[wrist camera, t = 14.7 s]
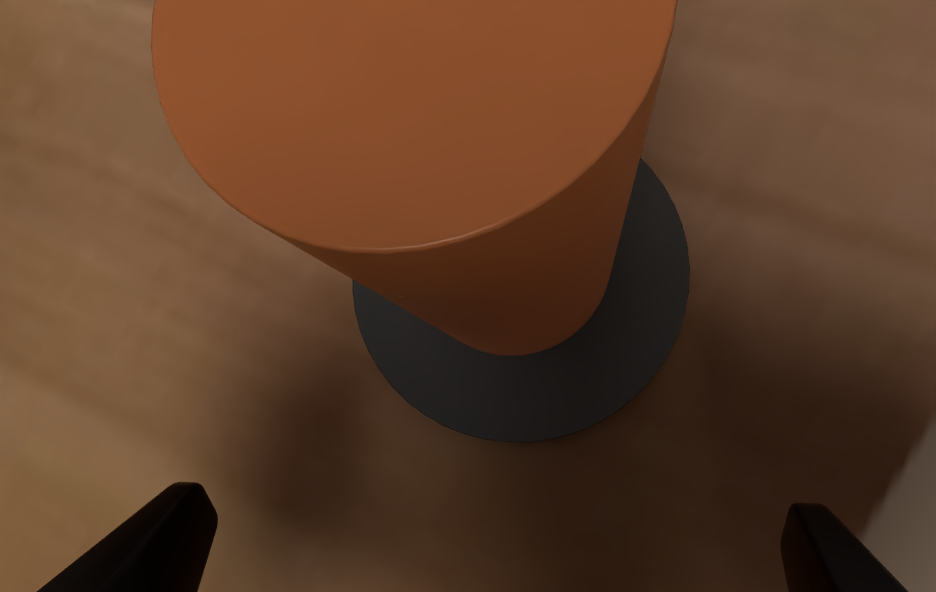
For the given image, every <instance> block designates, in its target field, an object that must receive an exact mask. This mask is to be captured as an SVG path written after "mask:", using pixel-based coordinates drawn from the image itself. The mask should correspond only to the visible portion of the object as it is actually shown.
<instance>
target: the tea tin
mask: <svg viewBox="0 0 936 592" xmlns="http://www.w3.org/2000/svg"><path fill="white" fill-rule="evenodd" d="M677 1H678V0H155V3H154V9H153V15H152V36H151V49H152V61H153V72H154V78H155V82H156V87H157V91H158V95H159V100H160V104H161V106H162V109H163V111H164V114H165V117H166V119H167V122H168V124H169V127H170V129H171V132H172V134H173V136H174V138H175V139H176V141H177V143H178V145H179V146H180V148H181V150H182V152H183V153H184V155H185V157H186V159H187V160H188V161H189V163H190V164H191V165H192V166H193V168H194V169H195V170H196V171H197V173H198V174H199V175H200V177H201V178H202V179H203V180H204V182H205V183H206V184H207V185H208V186H209V187H210V188H211V189H212V190H214V191H215V192H216V193H217V194H218V195H219V196H220V197H221V198H222V199H223V200H224V201H225V202H226V203H227V204H229V205H230V206H231V207H233V208H234V209H236V210H237V211H239V212H240V213H242V214H243V215H245V216H246V217H247V218H249V219H250V220H252V221H253V222H255V223H256V224H258V225H260V226H262V227H263V228H265V229H267V230H269V231H270V232H272V233H274V234H275V235H277V236H279V237H281V238H282V239H284V240H286V241H288V242H289V243H291V244H293V245H294V246H296V247H298V248H300V249H301V250H303V251H305V252H307V253H308V254H310V255H312V256H313V257H315V258H317V259H319V260H320V261H322V262H324V263H326V264H327V265H329V266H331V267H332V268H334V269H336V270H338V271H339V272H341V273H343V274H345V275H346V276H348V277H350V278H351V279H353V280H355V281H357V282H358V283H360V284H362V285H364V286H365V287H367V288H369V289H370V290H372V291H374V292H376V293H377V294H379V295H381V296H383V297H384V298H386V299H388V300H389V301H391V302H393V303H395V304H396V305H398V306H400V307H402V308H403V309H405V310H407V311H408V312H410V313H412V314H414V315H415V316H417V317H419V318H421V319H422V320H424V321H426V322H427V323H429V324H431V325H433V326H434V327H436V328H438V329H440V330H441V331H443V332H445V333H447V334H448V335H450V336H452V337H453V338H455V339H457V340H459V341H460V342H462V343H464V344H466V345H468V346H470V347H472V348H474V349H477V350H480V351H483V352H486V353H491V354H496V355H507V356H516V355H527V354H532V353H537V352H540V351H543V350H546V349H549V348H551V347H553V346H555V345H557V344H559V343H561V342H563V341H564V340H566V339H567V338H569V337H570V336H572V335H573V334H574V333H576V332H577V331H578V330H579V329H580V328H581V327H582V326H583V325H584V324H585V323H586V322H587V321H588V320H589V319H590V317H591V316H592V315H593V313H594V312H595V310H596V309H597V307H598V306H599V304H600V302H601V300H602V298H603V296H604V293H605V291H606V288H607V284H608V281H609V278H610V274H611V270H612V266H613V262H614V258H615V254H616V250H617V246H618V242H619V238H620V234H621V231H622V227H623V223H624V219H625V215H626V211H627V207H628V203H629V199H630V195H631V191H632V187H633V183H634V179H635V176H636V172H637V168H638V164H639V160H640V156H641V152H642V148H643V144H644V140H645V136H646V132H647V128H648V125H649V121H650V117H651V113H652V109H653V105H654V101H655V97H656V93H657V89H658V85H659V81H660V77H661V74H662V70H663V66H664V62H665V58H666V54H667V50H668V46H669V42H670V38H671V34H672V30H673V24H674V18H675V12H676V7H677Z"/></svg>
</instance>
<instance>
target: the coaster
mask: <svg viewBox="0 0 936 592" xmlns="http://www.w3.org/2000/svg"><path fill="white" fill-rule="evenodd" d="M689 273H690V267H689V257H688V247H687V243H686V239H685V234H684V230H683V226H682V223H681V221H680V218H679V216H678V213H677V211H676V208H675V205H674V203H673V202H672V200H671V198H670V196H669V195H668V193H667V191H666V189H665V187H664V186H663V184H662V183H661V182H660V180H659V179H658V178H657V176H656V175H655V174H654V173H653V171H652V170H651V169H650V167H649V166H648V165H647V164H646V163H645V162H643V161H642V160H641V159H640V160H639V164H638V168H637V172H636V176H635V179H634V183H633V187H632V191H631V195H630V199H629V203H628V207H627V211H626V215H625V219H624V223H623V227H622V231H621V234H620V238H619V242H618V246H617V250H616V254H615V258H614V262H613V266H612V270H611V274H610V278H609V281H608V284H607V288H606V291H605V293H604V296H603V298H602V300H601V302H600V304H599V306H598V307H597V309H596V310H595V312H594V313H593V315H592V316H591V317H590V319H589V320H588V321H587V322H586V323H585V324H584V325H583V326H582V327H581V328H580V329H579V330H578V331H577V332H576V333H574V334H573V335H572V336H570V337H569V338H567V339H566V340H564V341H563V342H561V343H559V344H557V345H555V346H553V347H551V348H549V349H546V350H543V351H540V352H537V353H532V354H527V355H516V356H507V355H496V354H491V353H486V352H483V351H480V350H477V349H474V348H472V347H470V346H468V345H466V344H464V343H462V342H460V341H459V340H457V339H455V338H453V337H452V336H450V335H448V334H447V333H445V332H443V331H441V330H440V329H438V328H436V327H434V326H433V325H431V324H429V323H427V322H426V321H424V320H422V319H421V318H419V317H417V316H415V315H414V314H412V313H410V312H408V311H407V310H405V309H403V308H402V307H400V306H398V305H396V304H395V303H393V302H391V301H389V300H388V299H386V298H384V297H383V296H381V295H379V294H377V293H376V292H374V291H372V290H370V289H369V288H367V287H365V286H364V285H362V284H360V283H358V282H357V281H355V280H353V297H354V305H355V312H356V316H357V320H358V324H359V327H360V331H361V334H362V336H363V339H364V341H365V344H366V346H367V349H368V351H369V353H370V355H371V356H372V358H373V360H374V362H375V363H376V365H377V367H378V369H379V370H380V371H381V373H382V374H383V375H384V377H385V378H386V379H387V381H388V382H389V383H390V384H391V386H392V387H393V388H394V389H395V390H396V391H397V392H398V393H399V394H400V395H401V396H402V397H403V398H404V399H405V400H406V401H407V402H408V403H410V404H411V405H412V406H414V407H415V408H416V409H418V410H419V411H420V412H421V413H423V414H424V415H426V416H428V417H429V418H431V419H433V420H435V421H436V422H438V423H440V424H442V425H443V426H446V427H448V428H451V429H453V430H456V431H458V432H461V433H463V434H466V435H470V436H474V437H478V438H482V439H486V440H494V441H503V442H534V441H540V440H547V439H553V438H558V437H561V436H564V435H568V434H571V433H574V432H578V431H580V430H582V429H584V428H587V427H589V426H591V425H593V424H595V423H598V422H600V421H601V420H603V419H605V418H606V417H608V416H609V415H611V414H613V413H614V412H616V411H617V410H619V409H620V408H621V407H623V406H624V405H625V404H626V403H627V402H629V401H630V400H631V399H632V398H633V397H635V396H636V395H637V394H638V393H639V392H640V391H641V390H642V389H643V388H644V386H645V385H646V384H647V383H648V382H649V381H650V380H651V379H652V378H653V377H654V375H655V374H656V372H657V371H658V369H659V368H660V366H661V365H662V363H663V362H664V360H665V359H666V358H667V356H668V354H669V352H670V350H671V348H672V346H673V344H674V342H675V340H676V338H677V335H678V332H679V329H680V326H681V323H682V320H683V317H684V314H685V309H686V304H687V298H688V293H689Z"/></svg>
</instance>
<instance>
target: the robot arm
mask: <svg viewBox="0 0 936 592" xmlns="http://www.w3.org/2000/svg"><path fill="white" fill-rule="evenodd" d="M217 524H218V517H217V513H216V510H215V508H214V507H213V505H212V503H211V501H210V499H209V497H208V495H207V493H206V491H205V490H204V488H203V486H202V485H201V484H199V483H195V482H177V483H174V484H172V485H170V486H169V487H167V488H166V489H165V490H164V491H162V492H161V493H160V494H159V495H157V496H156V497H155V498H154V499H152V500H151V501H150V502H149V503H147V504H146V505H145V506H144V507H142V508H141V509H140V510H139V511H137V512H136V513H135V514H134V515H132V516H131V517H130V518H129V519H127V520H126V521H125V522H123V523H122V524H121V525H120V526H118V527H117V528H116V529H115V530H113V531H112V532H111V533H110V534H108V535H107V536H106V537H105V538H103V539H102V540H101V541H100V542H98V543H97V544H96V545H95V546H93V547H92V548H91V549H90V550H88V551H87V552H86V553H85V554H83V555H82V556H81V557H80V558H78V559H77V560H76V561H74V562H73V563H72V564H71V565H69V566H68V567H67V568H66V569H64V570H63V571H62V572H61V573H59V574H58V575H57V576H56V577H54V578H53V579H52V580H51V581H49V582H48V583H47V584H46V585H44V586H43V587H42V588H41V589H39V590H38V591H37V592H197V591H198V588H199V585H200V582H201V578H202V575H203V572H204V569H205V565H206V562H207V559H208V556H209V552H210V549H211V546H212V543H213V539H214V536H215V533H216V529H217ZM781 555H782V560H783V565H784V570H785V575H786V580H787V585H788V590H789V592H908V591H907V590H906V589H905V588H904V587H903V586H902V585H901V584H900V583H899V581H898V580H896V578H895V577H894V576H893V575H892V574H891V573H890V572H889V571H888V570H887V569H886V568H885V567H884V566H883V565H882V564H881V563H880V562H879V561H878V560H877V559H876V558H875V557H874V555H872V553H871V552H870V551H869V550H868V549H867V548H866V547H865V546H864V545H863V544H862V543H861V542H860V541H859V540H858V539H857V538H856V537H855V536H854V535H853V533H852V532H851V531H850V530H849V529H848V528H847V527H846V526H845V525H844V524H843V523H842V522H841V521H840V520H839V519H838V518H837V517H836V516H835V515H834V514H833V513H832V512H831V511H830V510H829V509H828V508H827V507H826V506H824V505H822V504H818V503H793V504H792V505H791V506H790V508H789V510H788V514H787V517H786V521H785V525H784V528H783V532H782V536H781Z"/></svg>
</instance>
